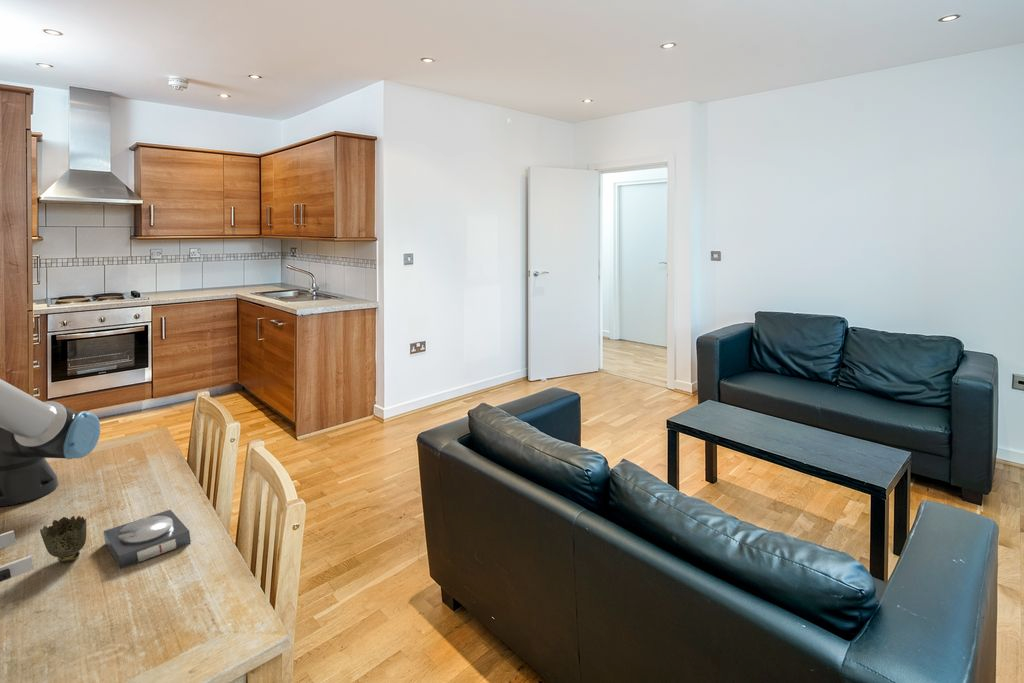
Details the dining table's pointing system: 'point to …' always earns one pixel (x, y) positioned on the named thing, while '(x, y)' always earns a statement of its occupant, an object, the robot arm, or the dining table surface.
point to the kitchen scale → (146, 538)
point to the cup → (65, 538)
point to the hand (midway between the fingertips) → (23, 549)
